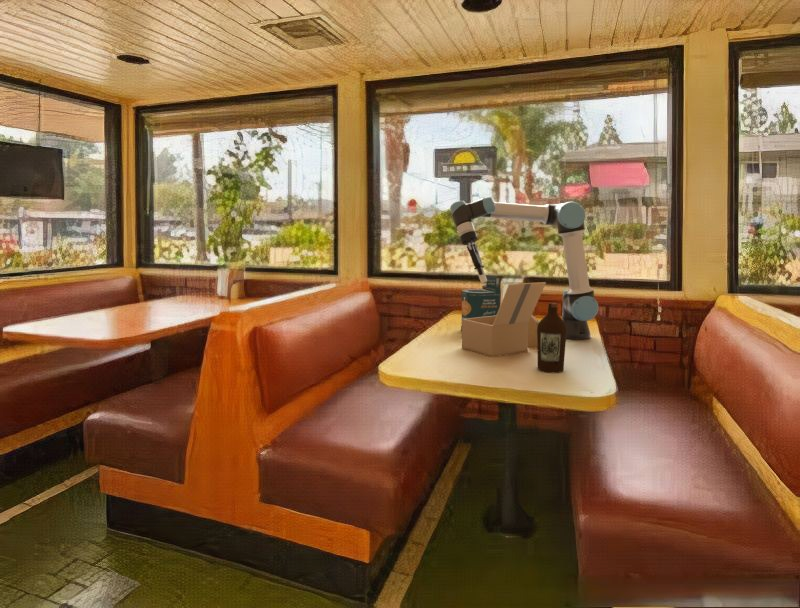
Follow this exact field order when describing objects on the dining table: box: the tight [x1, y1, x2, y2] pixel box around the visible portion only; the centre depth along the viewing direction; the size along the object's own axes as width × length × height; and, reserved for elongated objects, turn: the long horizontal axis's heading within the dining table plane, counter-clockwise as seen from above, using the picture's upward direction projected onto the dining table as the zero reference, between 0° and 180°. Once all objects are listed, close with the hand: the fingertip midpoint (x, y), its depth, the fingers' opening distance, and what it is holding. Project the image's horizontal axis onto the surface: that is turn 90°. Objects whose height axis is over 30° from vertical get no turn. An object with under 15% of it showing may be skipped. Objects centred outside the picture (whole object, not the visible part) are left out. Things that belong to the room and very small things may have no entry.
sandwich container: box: [528, 314, 540, 348], centre depth 247 cm, size 9×15×15 cm, turn 76°
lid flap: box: [493, 281, 547, 326], centre depth 225 cm, size 20×20×1 cm
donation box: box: [460, 275, 502, 332], centre depth 282 cm, size 16×16×28 cm
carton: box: [461, 316, 529, 357], centre depth 240 cm, size 20×20×13 cm
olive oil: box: [537, 302, 567, 373], centre depth 205 cm, size 11×11×25 cm
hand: (484, 281), depth 245 cm, fingers closed
